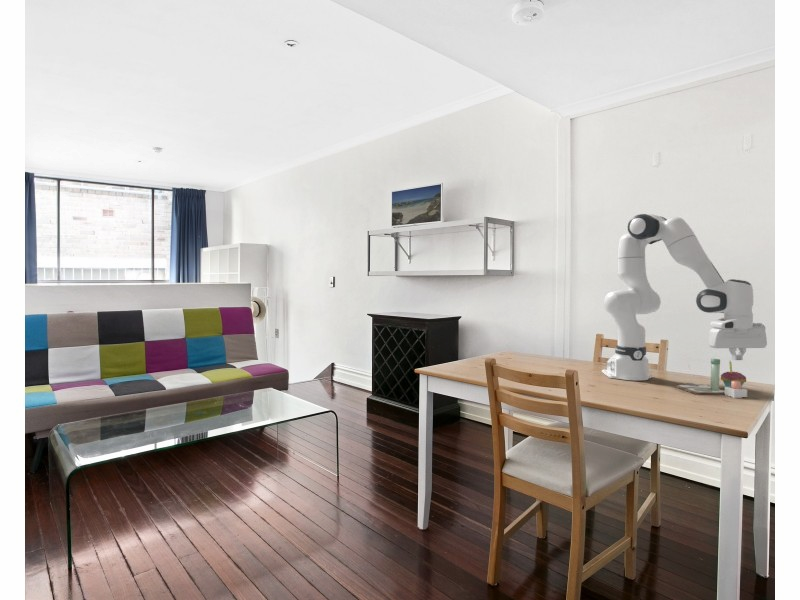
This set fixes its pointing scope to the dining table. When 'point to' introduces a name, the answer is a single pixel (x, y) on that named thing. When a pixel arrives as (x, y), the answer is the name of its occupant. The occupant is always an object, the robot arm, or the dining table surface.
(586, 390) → the dining table surface
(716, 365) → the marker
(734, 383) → the button
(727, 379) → the cupcake
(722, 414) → the dining table surface
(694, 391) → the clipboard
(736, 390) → the button housing
